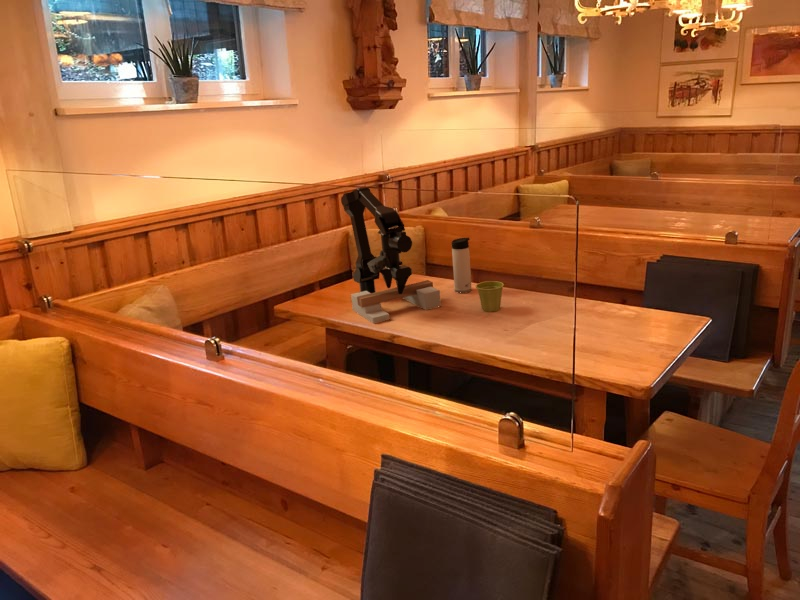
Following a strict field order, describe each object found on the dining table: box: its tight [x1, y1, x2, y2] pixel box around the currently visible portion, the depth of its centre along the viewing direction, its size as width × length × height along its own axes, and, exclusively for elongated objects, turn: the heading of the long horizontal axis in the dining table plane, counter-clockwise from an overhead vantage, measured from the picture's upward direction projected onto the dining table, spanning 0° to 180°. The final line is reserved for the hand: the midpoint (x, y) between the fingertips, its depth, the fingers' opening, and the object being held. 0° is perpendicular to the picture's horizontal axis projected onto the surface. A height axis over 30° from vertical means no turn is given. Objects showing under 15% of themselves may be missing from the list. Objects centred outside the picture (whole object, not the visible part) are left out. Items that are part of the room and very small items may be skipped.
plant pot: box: [475, 280, 505, 313], centre depth 228 cm, size 9×9×9 cm
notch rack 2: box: [402, 286, 442, 311], centre depth 242 cm, size 18×6×6 cm, turn 26°
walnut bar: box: [357, 279, 434, 307], centre depth 238 cm, size 4×28×3 cm, turn 117°
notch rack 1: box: [350, 291, 390, 324], centre depth 234 cm, size 18×6×6 cm, turn 26°
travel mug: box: [451, 237, 473, 294], centre depth 248 cm, size 6×7×20 cm
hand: (394, 290), depth 237 cm, fingers open, 9 cm apart
